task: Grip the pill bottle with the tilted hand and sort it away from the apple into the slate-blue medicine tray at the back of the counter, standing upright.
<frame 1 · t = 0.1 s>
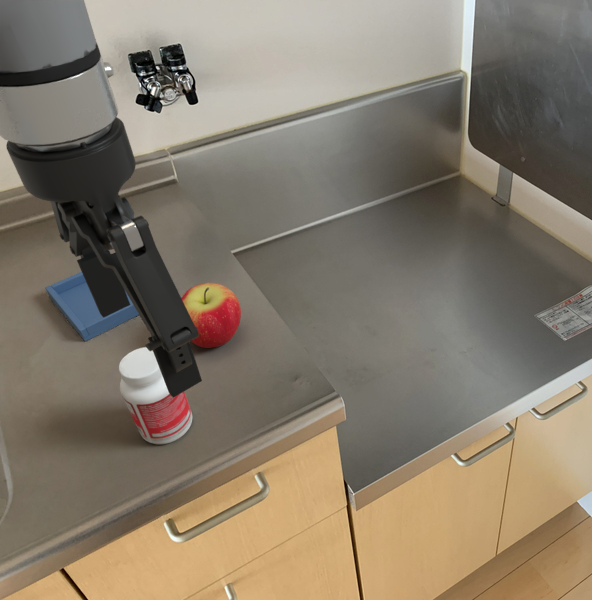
hand: (148, 345, 56), 20 cm above the countertop, tool pointing down, fingers open, 13 cm apart
medicine tray: (109, 299, 91), on the countertop
apple: (215, 338, 85), on the countertop
pill bottle: (167, 426, 73), on the countertop
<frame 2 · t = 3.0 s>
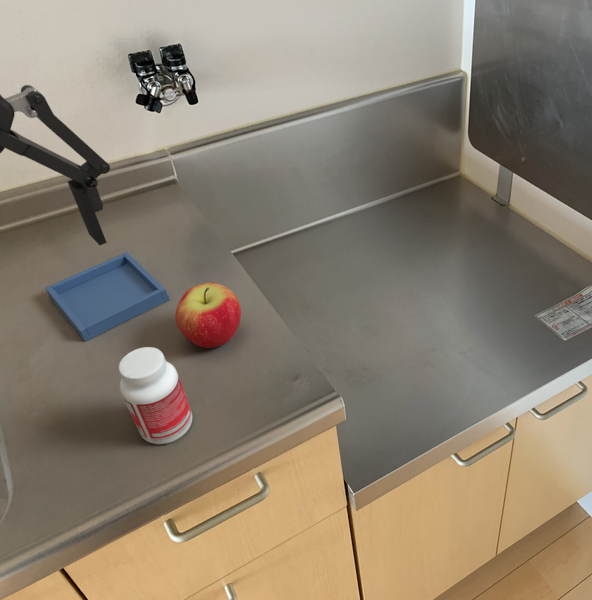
hand: (31, 266, 61), 22 cm above the countertop, tool pointing down, fingers open, 13 cm apart
nothing on the countertop moved.
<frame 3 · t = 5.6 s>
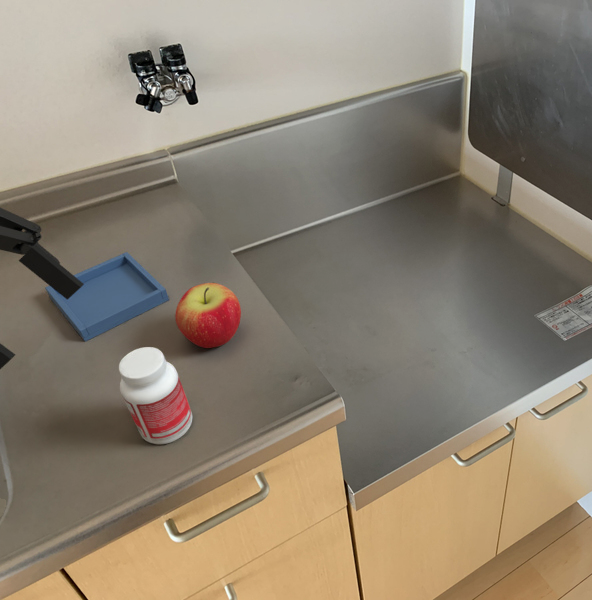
hand: (44, 325, 65), 15 cm above the countertop, tool tilted 40°, fingers open, 13 cm apart
nothing on the countertop moved.
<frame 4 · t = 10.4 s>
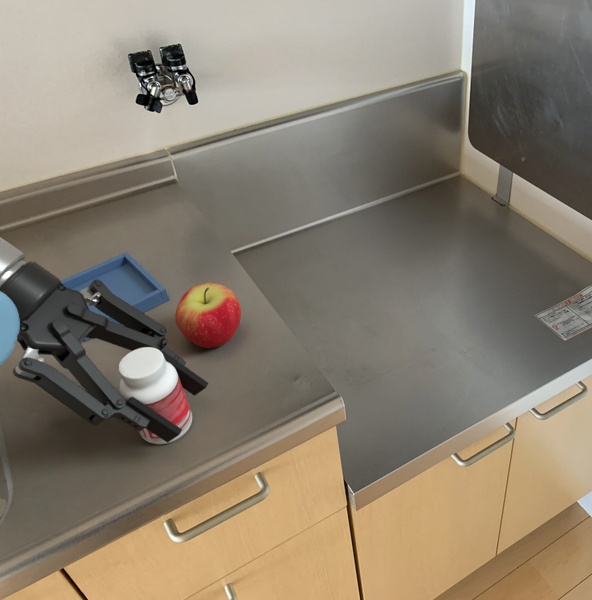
hand: (188, 411, 71), 3 cm above the countertop, tool tilted 45°, fingers closed on pill bottle, 6 cm apart
pill bottle: (167, 426, 73), on the countertop, touching gripper
everything else where it was.
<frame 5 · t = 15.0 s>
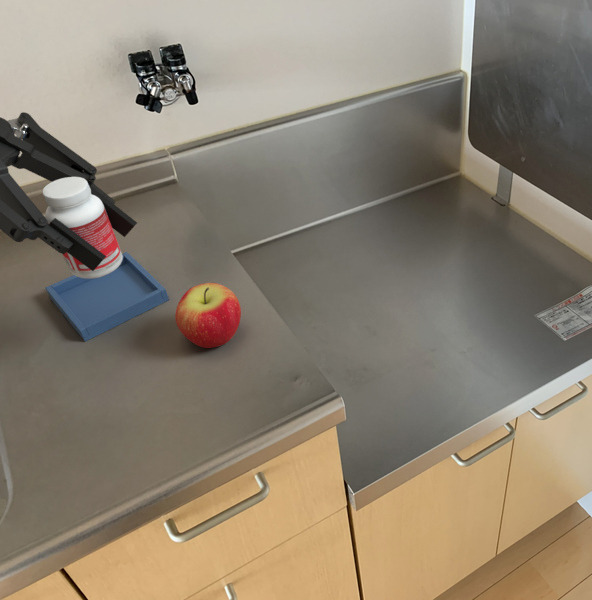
hand: (115, 246, 73), 17 cm above the countertop, tool tilted 45°, fingers closed on pill bottle, 6 cm apart
pill bottle: (97, 266, 75), point 13 cm above the countertop, touching gripper
everything else where it was.
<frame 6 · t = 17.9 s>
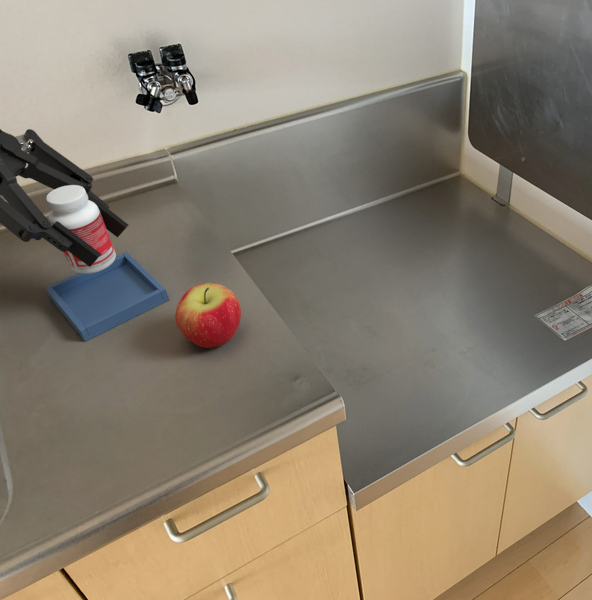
hand: (109, 245, 83), 10 cm above the countertop, tool tilted 45°, fingers closed on pill bottle, 6 cm apart
pill bottle: (94, 262, 86), point 7 cm above the countertop, touching gripper
everything else where it was.
when the fingers open (4 cm above the countertop, at t = 20.0 s): pill bottle stays where it is, resting on medicine tray.
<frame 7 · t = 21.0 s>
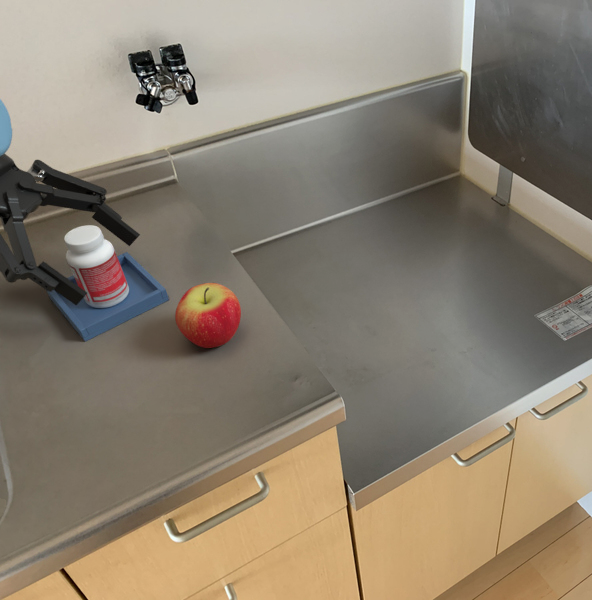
hand: (110, 268, 86), 6 cm above the countertop, tool tilted 45°, fingers open, 13 cm apart
pill bottle: (108, 297, 90), resting on medicine tray
everything else where it was.
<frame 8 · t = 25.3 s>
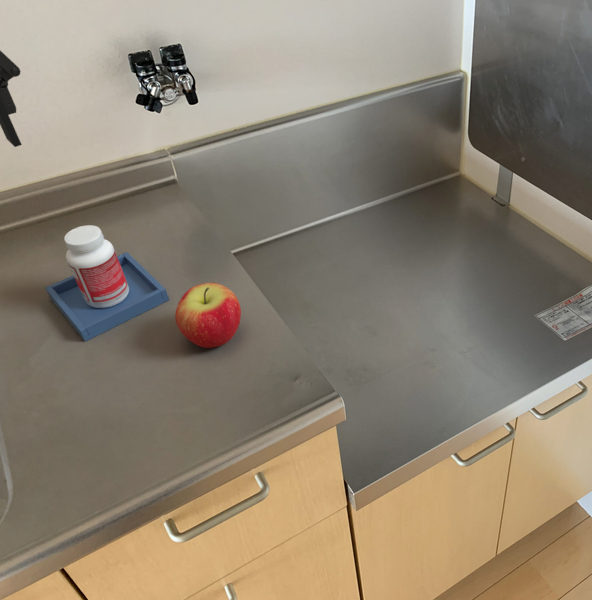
nothing on the countertop moved.
at the end: pill bottle inside the target area in the medicine tray (0.0 cm from its centre), point 0.4 cm above the medicine tray's base; pill bottle tilted 0°; the gripper is holding nothing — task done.
